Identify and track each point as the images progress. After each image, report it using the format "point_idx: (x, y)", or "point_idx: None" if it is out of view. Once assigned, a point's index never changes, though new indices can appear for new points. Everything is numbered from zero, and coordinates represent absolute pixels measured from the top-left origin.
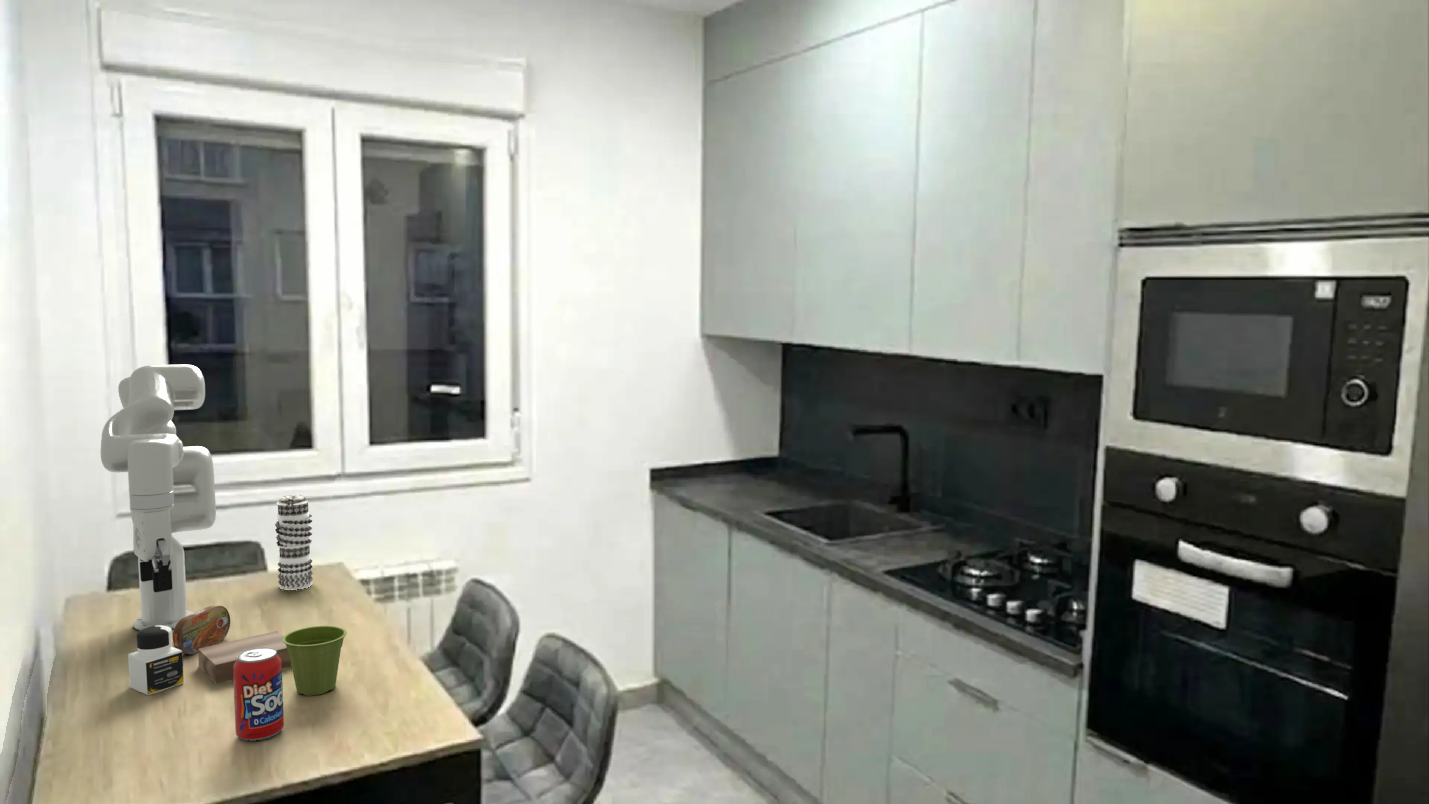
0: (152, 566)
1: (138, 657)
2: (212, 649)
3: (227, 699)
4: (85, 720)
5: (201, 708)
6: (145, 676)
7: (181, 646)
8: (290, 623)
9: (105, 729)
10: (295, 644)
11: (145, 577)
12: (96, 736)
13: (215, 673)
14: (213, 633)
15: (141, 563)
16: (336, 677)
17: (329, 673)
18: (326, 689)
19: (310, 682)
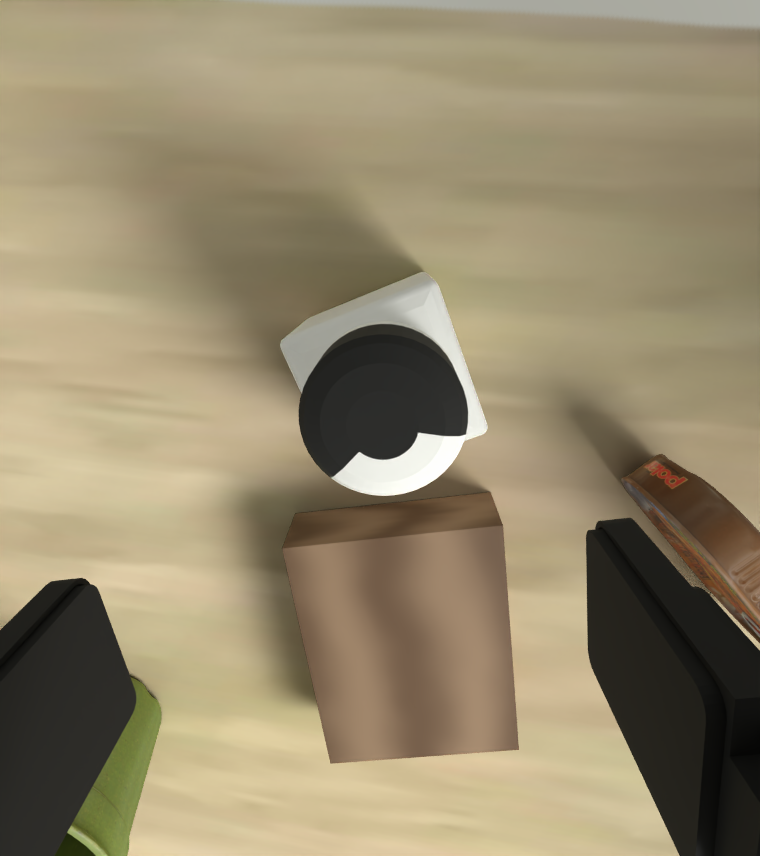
0: (658, 750)
1: (350, 318)
2: (459, 564)
3: (147, 519)
4: (175, 101)
5: (109, 449)
6: (300, 326)
7: (627, 478)
8: None
9: (57, 165)
10: (100, 798)
11: (604, 578)
12: (6, 133)
13: (292, 530)
14: (720, 586)
15: (727, 698)
16: None
17: None
18: None
19: None
